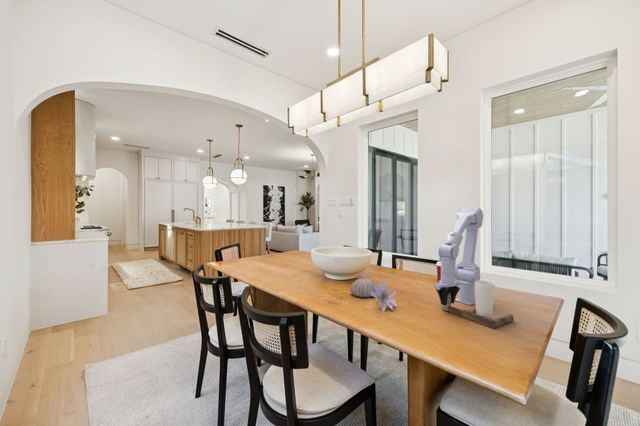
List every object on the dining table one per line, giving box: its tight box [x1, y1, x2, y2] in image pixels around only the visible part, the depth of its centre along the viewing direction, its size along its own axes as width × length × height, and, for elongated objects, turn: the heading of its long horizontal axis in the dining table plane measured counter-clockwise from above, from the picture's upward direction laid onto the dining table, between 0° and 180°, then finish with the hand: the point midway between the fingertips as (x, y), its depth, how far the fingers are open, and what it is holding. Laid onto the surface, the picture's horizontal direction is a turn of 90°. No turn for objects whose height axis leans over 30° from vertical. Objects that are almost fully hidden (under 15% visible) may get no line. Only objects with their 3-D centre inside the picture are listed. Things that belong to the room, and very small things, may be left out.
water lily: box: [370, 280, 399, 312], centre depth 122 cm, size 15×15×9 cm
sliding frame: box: [441, 293, 515, 329], centre depth 112 cm, size 15×22×7 cm
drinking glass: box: [474, 279, 496, 320], centre depth 106 cm, size 7×7×15 cm
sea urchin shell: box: [349, 278, 377, 298], centre depth 138 cm, size 13×14×8 cm
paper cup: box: [436, 261, 447, 290], centre depth 151 cm, size 8×8×14 cm
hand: (447, 303), depth 117 cm, fingers open, 4 cm apart
